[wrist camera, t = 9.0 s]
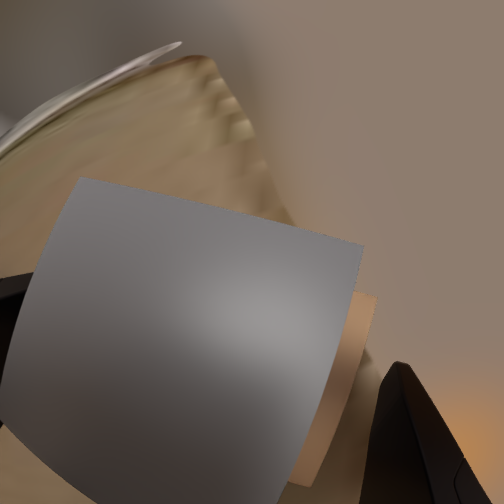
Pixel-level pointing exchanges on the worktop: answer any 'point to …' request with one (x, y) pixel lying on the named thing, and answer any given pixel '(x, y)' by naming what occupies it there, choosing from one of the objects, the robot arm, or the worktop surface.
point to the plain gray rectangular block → (174, 347)
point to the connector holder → (335, 389)
